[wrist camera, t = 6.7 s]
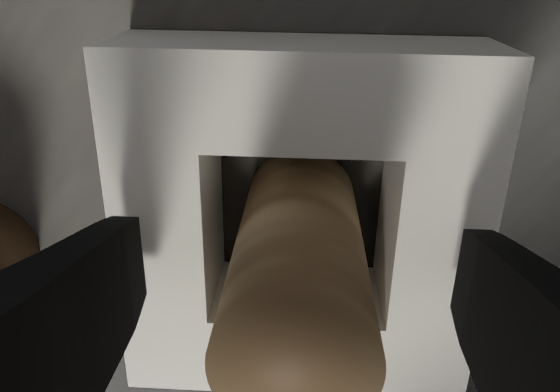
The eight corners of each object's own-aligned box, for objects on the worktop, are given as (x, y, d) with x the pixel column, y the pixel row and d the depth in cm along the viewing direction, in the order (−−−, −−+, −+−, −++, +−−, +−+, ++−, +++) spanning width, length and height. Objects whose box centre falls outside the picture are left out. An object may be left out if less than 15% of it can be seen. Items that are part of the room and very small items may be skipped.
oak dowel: (246, 239, 16) (204, 429, 9) (251, 144, 15) (205, 287, 8) (347, 248, 16) (372, 444, 9) (360, 152, 14) (399, 304, 8)
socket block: (157, 318, 17) (128, 386, 14) (129, 29, 13) (83, 46, 11) (438, 331, 17) (463, 403, 14) (487, 37, 13) (535, 57, 10)
